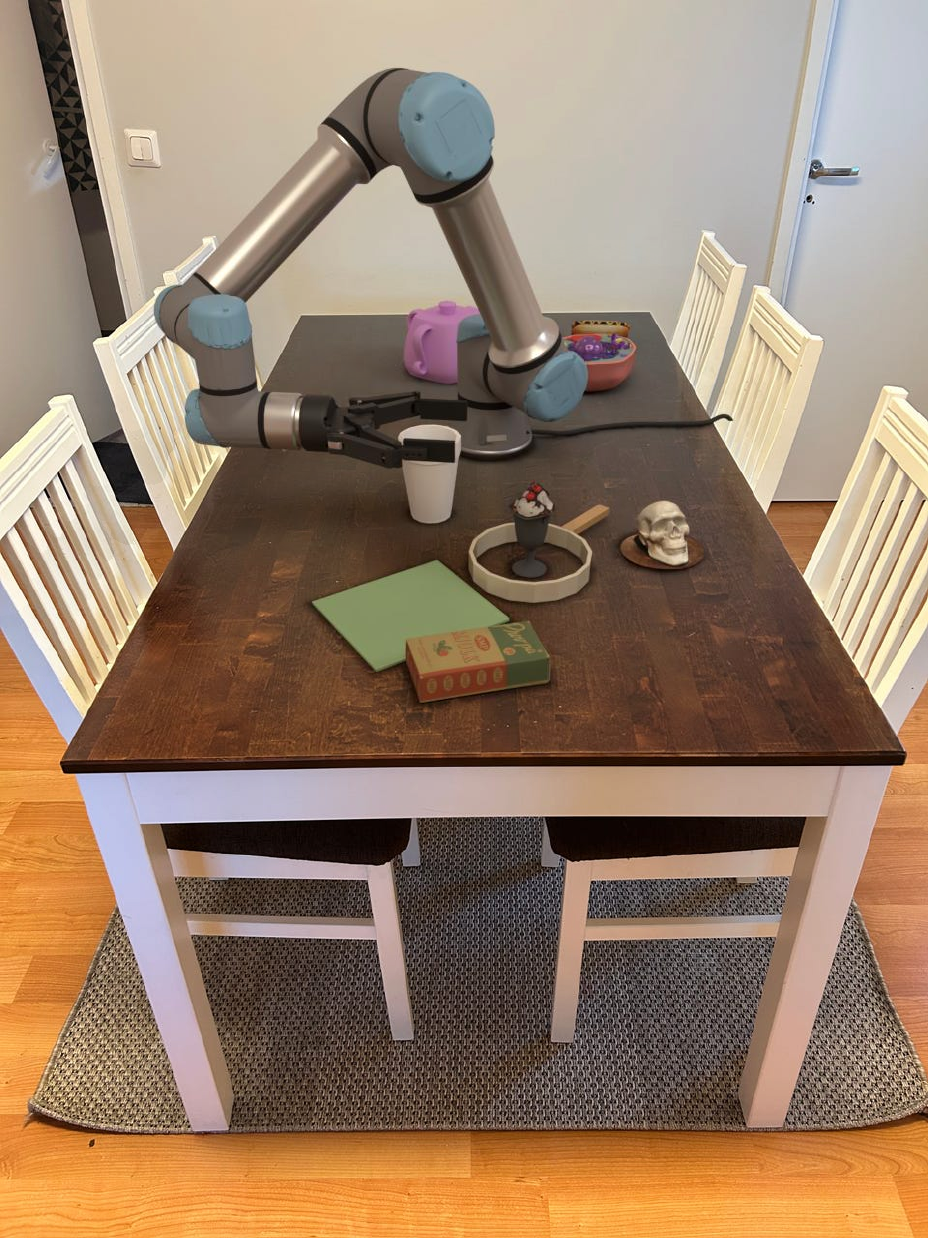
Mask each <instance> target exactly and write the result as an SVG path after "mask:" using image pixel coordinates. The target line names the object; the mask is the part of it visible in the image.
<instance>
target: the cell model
mask: <svg viewBox="0 0 928 1238" xmlns="http://www.w3.org/2000/svg"><path fill="white" fill-rule="evenodd" d="M562 338H563V341H564V343H565V346H566V348H567V349H568V350H569V351H572V352H575V353H577V354H578V355H579V356H580V357H581V358H582V359H583V360H584V362H585V364H586V366H587V371H588V381H587V386H586V389H585V391H584V392H585V393H586V392H601V391H602V392H603V391H606V390H611V389H613V388H616V387H617V386H619V385H620V384H621V383H623V382H624V381H625V380H626V379H627V378H629V377H630V375H631V372H632V370H633V368H634V364H635V361H636V355H637V345H636V344H635V343H634V342H633V340H631V339H630V338H628V337H627V338H624V337H620V336H618V335H617V334H579V335H568V336H564V337H563V336H562Z"/></svg>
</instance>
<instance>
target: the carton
mask: <svg viewBox="0 0 928 1238" xmlns="http://www.w3.org/2000/svg"><path fill="white" fill-rule="evenodd" d="M405 654H406V661H405V663H406V666H407V669H408V671H409V674H410V677H411V681H412V683H413V686H414V689H415V692H416V695H417V698H418V702H419V703H421V704H422V703H428V702H435V701H440V700H441V701H442V700H446V699H452V698H459V697H465V696H471V695H478V694H483V693H484V694H485V693H490V692H497V691H503V690H510V689H518V688H524V687H532V686H540V685H545V684H548V683H549V682H551V658H550V657H551V656H550V654H549V653H548V652H547V650H546V648H545V647H544V644H543V643H542V642H541V640H540V638H539V636H538V635H537V633H536V631H535V629H534V627H533V625H532V623H531V622H530V620H523V621H517V622H510V623H503V624H500V625H495V626H489V627H483V628H476V629H469V630H463V631H455V632H449V633H442V634H435V635H428V636H422V637H415V638H408V639H406V646H405Z"/></svg>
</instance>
